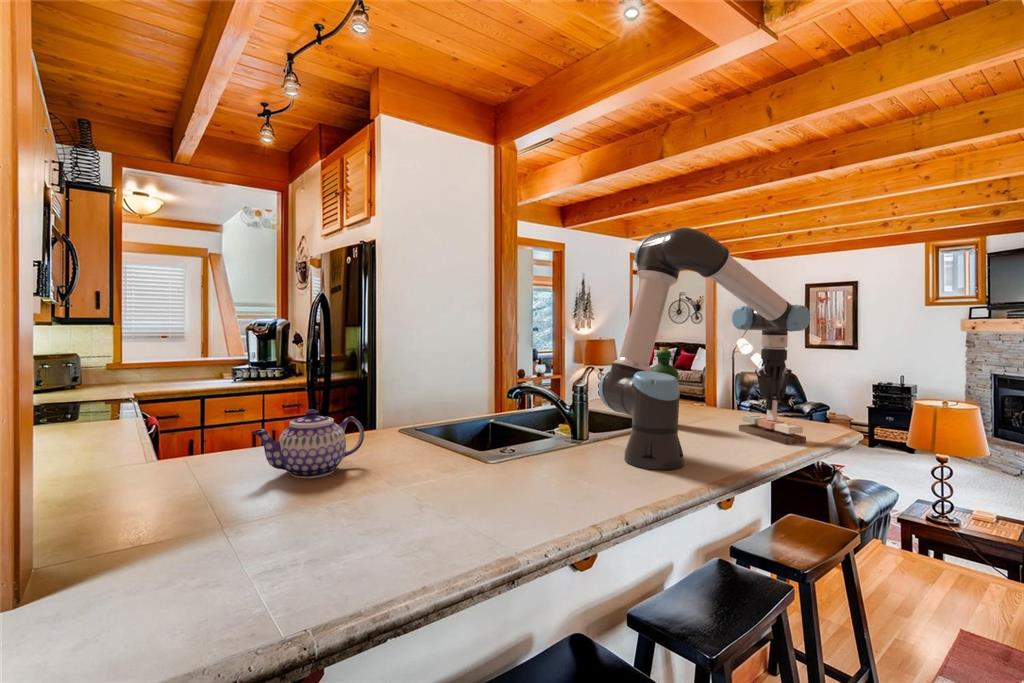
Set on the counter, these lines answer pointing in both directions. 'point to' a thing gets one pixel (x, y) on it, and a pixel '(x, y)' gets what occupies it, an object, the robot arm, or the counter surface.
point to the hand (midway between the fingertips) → (771, 419)
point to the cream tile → (788, 428)
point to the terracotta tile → (768, 424)
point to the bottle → (665, 363)
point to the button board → (772, 434)
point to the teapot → (309, 445)
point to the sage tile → (752, 419)
